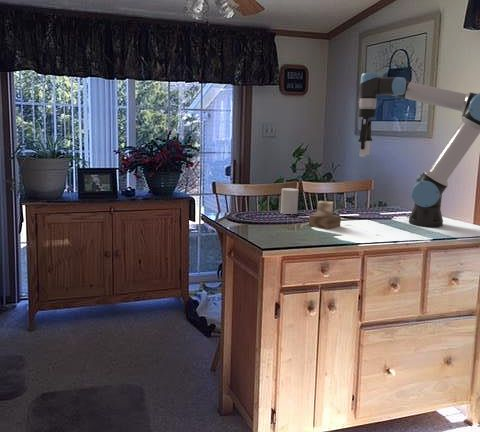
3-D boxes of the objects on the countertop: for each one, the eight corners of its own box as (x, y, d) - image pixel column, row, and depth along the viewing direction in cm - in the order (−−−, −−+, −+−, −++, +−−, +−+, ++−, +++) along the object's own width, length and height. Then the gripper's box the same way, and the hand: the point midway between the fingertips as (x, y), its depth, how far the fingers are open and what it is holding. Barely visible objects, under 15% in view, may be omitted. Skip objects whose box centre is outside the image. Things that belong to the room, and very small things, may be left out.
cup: (278, 212, 266) (279, 188, 263) (293, 211, 268) (294, 188, 266) (284, 215, 258) (285, 190, 256) (299, 215, 260) (301, 190, 258)
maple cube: (332, 215, 238) (333, 201, 237) (330, 217, 233) (331, 203, 232) (318, 213, 240) (319, 200, 239) (316, 216, 234) (317, 202, 233)
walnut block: (340, 227, 238) (341, 216, 237) (327, 230, 230) (328, 218, 229) (321, 223, 244) (321, 212, 243) (308, 226, 237) (309, 215, 236)
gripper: (362, 108, 253) (360, 153, 257) (354, 107, 230) (351, 157, 234) (379, 109, 251) (376, 154, 255) (372, 107, 228) (369, 157, 232)
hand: (364, 155), depth 245 cm, fingers open, 13 cm apart
